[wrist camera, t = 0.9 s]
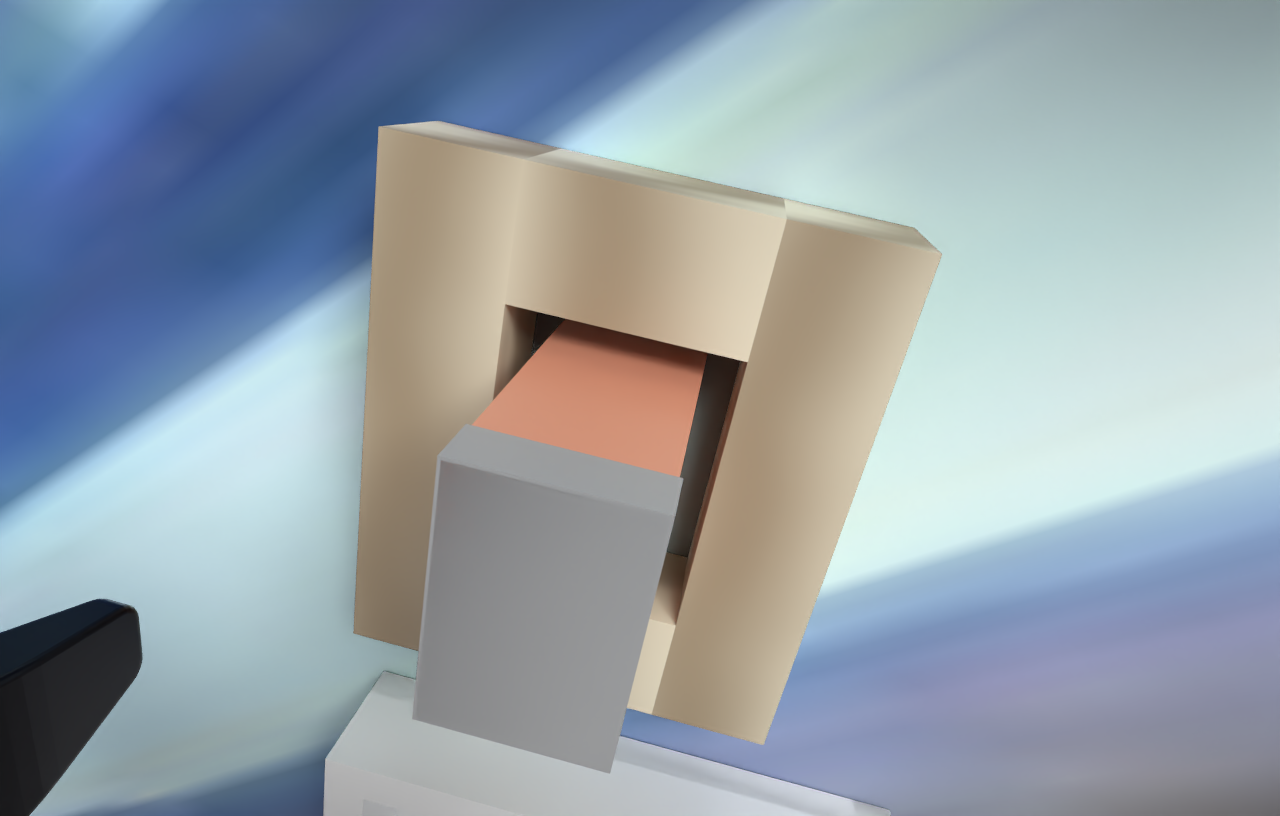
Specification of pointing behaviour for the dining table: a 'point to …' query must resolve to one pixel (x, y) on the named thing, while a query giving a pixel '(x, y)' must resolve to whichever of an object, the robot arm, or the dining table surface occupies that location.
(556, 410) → the block
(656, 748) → the parts tray
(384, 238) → the socket
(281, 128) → the dining table surface
